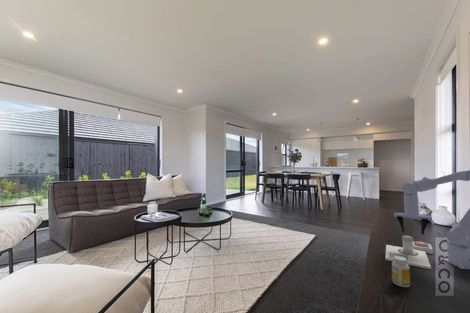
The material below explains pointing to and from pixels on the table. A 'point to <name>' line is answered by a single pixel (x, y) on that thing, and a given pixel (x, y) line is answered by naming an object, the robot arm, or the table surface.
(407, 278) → the supplement bottle
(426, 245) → the button
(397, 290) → the table surface
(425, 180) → the robot arm
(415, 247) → the button box
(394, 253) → the picture board
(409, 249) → the marker
